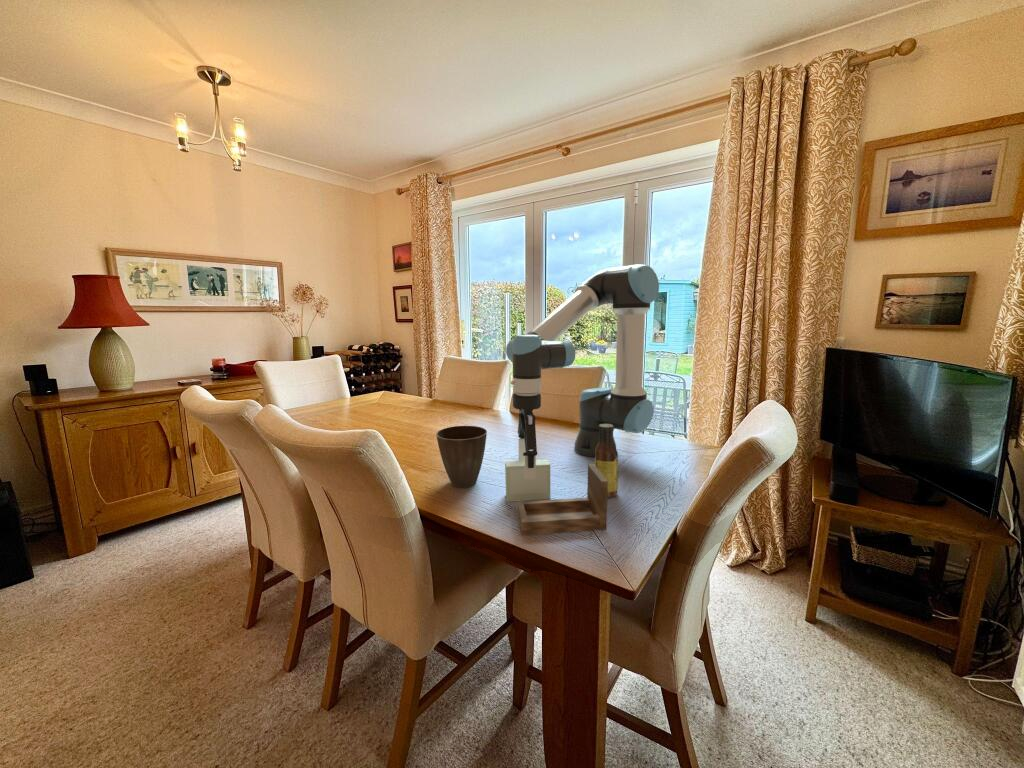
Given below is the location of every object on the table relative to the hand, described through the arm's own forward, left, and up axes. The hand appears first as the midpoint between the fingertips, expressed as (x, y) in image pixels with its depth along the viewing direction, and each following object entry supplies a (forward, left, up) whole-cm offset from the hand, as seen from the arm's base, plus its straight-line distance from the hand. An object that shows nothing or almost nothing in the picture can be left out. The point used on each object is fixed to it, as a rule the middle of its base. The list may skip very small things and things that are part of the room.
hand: (526, 469), depth 112 cm
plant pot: (+18, -12, -8) cm, 23 cm away
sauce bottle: (-22, +1, -8) cm, 24 cm away
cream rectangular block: (0, 0, -8) cm, 8 cm away
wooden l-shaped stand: (-6, +14, -8) cm, 17 cm away
